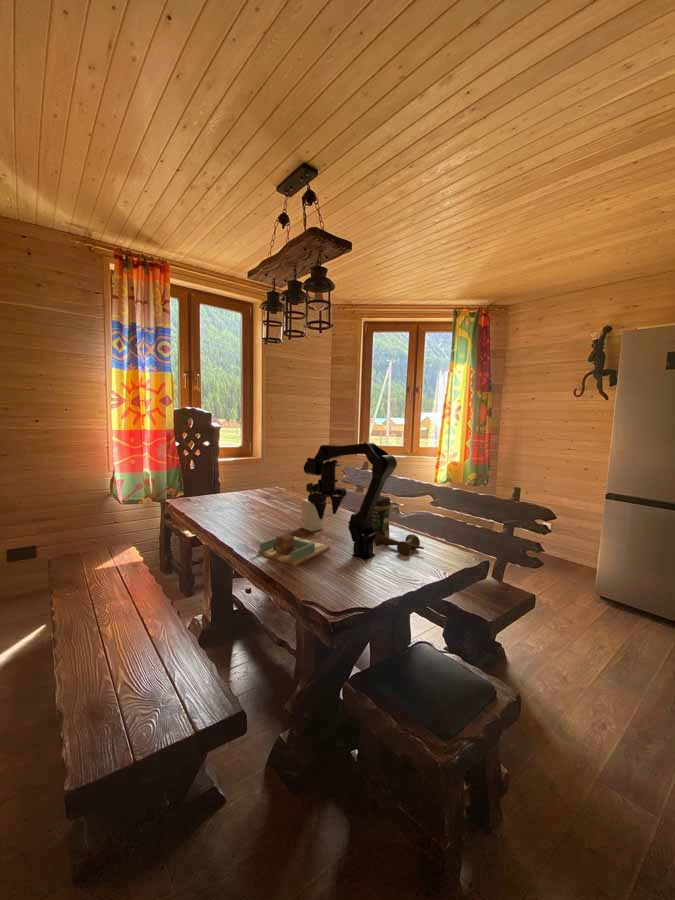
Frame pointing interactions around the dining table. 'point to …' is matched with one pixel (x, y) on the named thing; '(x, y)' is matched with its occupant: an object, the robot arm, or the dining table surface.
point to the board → (287, 558)
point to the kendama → (399, 543)
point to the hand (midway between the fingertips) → (327, 516)
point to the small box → (310, 517)
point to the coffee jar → (381, 516)
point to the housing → (303, 546)
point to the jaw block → (284, 544)
